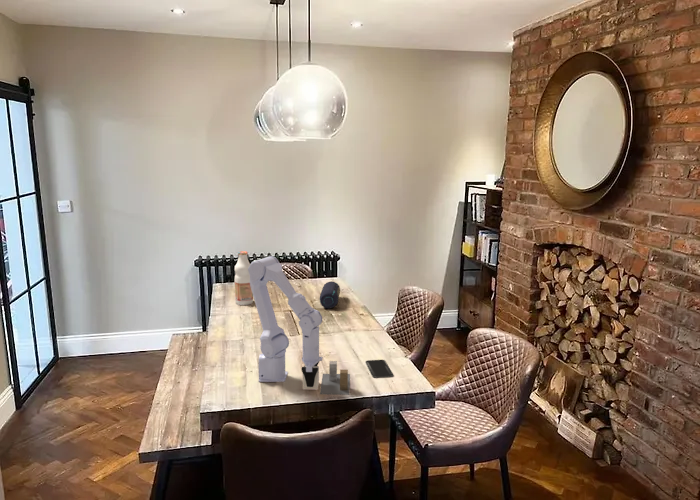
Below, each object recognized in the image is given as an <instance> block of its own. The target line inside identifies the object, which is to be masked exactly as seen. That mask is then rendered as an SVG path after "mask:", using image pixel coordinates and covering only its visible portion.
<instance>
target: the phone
mask: <svg viewBox="0 0 700 500" xmlns="http://www.w3.org/2000/svg"><path fill="white" fill-rule="evenodd" d="M365 365H366V366H367V369H368V370H369V372H370V374H371V377H372V378H374V379H383V378H393V377H394V373H393V372H392V370H391V369H390V367H389V365H388V363H387V362H386V360H385V359H370V360H369V359H368V360H365Z"/></svg>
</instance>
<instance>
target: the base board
mask: <svg viewBox="0 0 700 500" xmlns="http://www.w3.org/2000/svg"><path fill="white" fill-rule="evenodd" d="M350 380H351V374H350V373H348V390H340V373H337V381H329V373H322V375H321V384H320V390H319V395H328V396H329V395H331V396H332V395H337V396H343V395H344V396H345V395H346V396H350V392H351V391H350V385H351V381H350Z"/></svg>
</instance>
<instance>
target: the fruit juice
mask: <svg viewBox="0 0 700 500" xmlns="http://www.w3.org/2000/svg"><path fill="white" fill-rule="evenodd" d="M237 255H238V258H237V262H236V264H235V265H234V274H235V275H234V301H235V304H236V305H238V306H247V305H252V304H253V302H254V297H253V293H252V290H251V286H250V275H249V271H248V267H249V266H250V264H251V263H250V261H249V259H248V251H245V250H244V251H243V250H241V251H238V252H237Z"/></svg>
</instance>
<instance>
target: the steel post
mask: <svg viewBox="0 0 700 500" xmlns="http://www.w3.org/2000/svg"><path fill="white" fill-rule="evenodd" d="M328 365H329V367H328V368H329V369H328V370H329V371H328V374H329V381H337V374H338V362H337V360H330V361H329V364H328Z"/></svg>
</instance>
